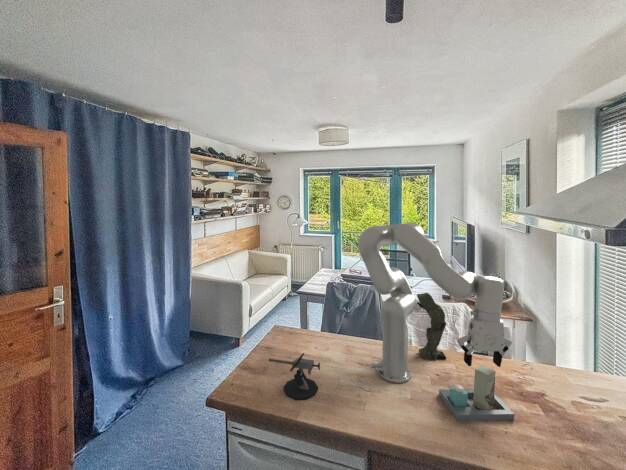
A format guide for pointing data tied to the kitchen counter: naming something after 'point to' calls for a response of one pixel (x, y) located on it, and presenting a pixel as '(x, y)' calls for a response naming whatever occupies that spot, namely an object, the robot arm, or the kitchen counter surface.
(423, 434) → the kitchen counter surface
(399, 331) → the robot arm
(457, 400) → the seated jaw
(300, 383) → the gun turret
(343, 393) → the kitchen counter surface
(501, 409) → the frame
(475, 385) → the box
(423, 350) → the mechanical leg
